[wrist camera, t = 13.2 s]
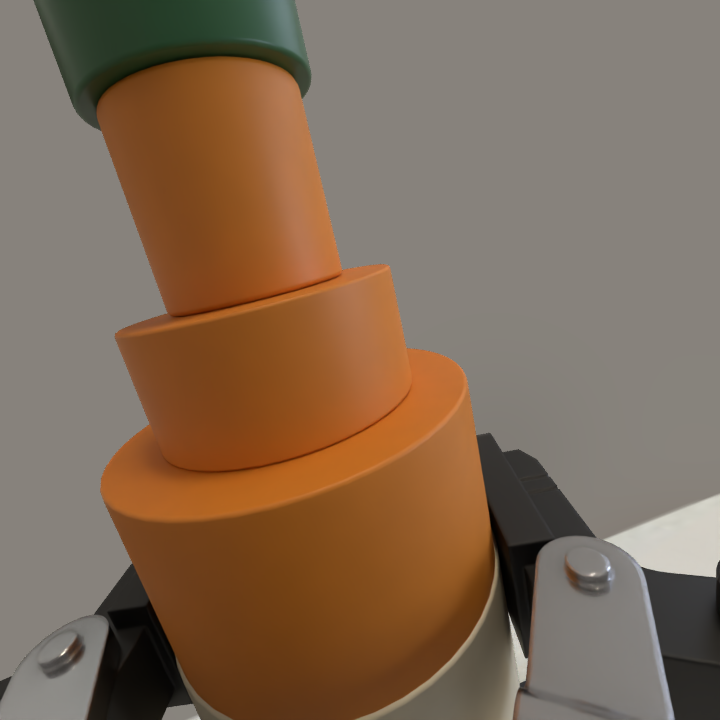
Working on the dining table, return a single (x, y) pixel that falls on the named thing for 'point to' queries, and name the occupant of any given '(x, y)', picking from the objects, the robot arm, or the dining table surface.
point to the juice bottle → (279, 396)
